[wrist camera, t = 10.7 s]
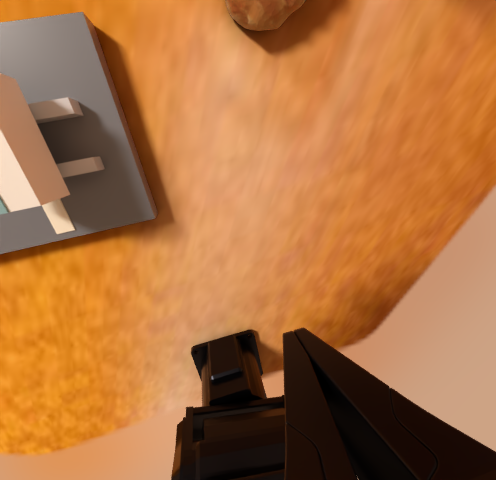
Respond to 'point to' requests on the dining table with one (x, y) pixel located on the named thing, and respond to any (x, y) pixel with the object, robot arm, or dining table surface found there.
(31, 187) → the block
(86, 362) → the dining table surface
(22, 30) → the grey slider panel
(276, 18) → the pastry
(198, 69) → the dining table surface
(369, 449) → the robot arm
